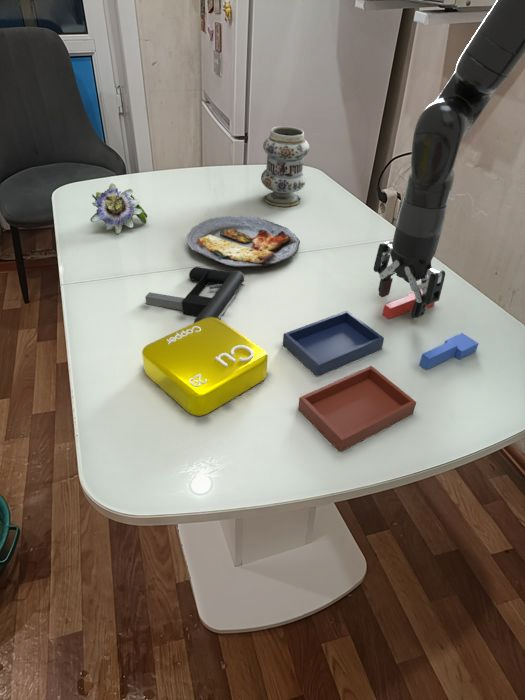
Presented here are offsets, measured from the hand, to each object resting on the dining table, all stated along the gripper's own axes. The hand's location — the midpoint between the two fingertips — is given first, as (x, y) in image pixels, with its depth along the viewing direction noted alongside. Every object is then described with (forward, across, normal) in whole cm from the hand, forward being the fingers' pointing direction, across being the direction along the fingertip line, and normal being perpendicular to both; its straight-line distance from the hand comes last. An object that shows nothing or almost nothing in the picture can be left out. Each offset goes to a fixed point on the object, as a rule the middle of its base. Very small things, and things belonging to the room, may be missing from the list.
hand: (399, 305), depth 97 cm
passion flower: (+2, +61, +32) cm, 69 cm away
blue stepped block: (+1, -14, +3) cm, 14 cm away
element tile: (+2, +3, +40) cm, 40 cm away
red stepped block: (+1, 0, -2) cm, 3 cm away
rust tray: (+1, -16, +25) cm, 30 cm away
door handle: (+2, +22, +32) cm, 39 cm away
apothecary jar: (+2, +56, -12) cm, 57 cm away
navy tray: (+1, -2, +18) cm, 18 cm away
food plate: (+2, +37, +12) cm, 39 cm away
